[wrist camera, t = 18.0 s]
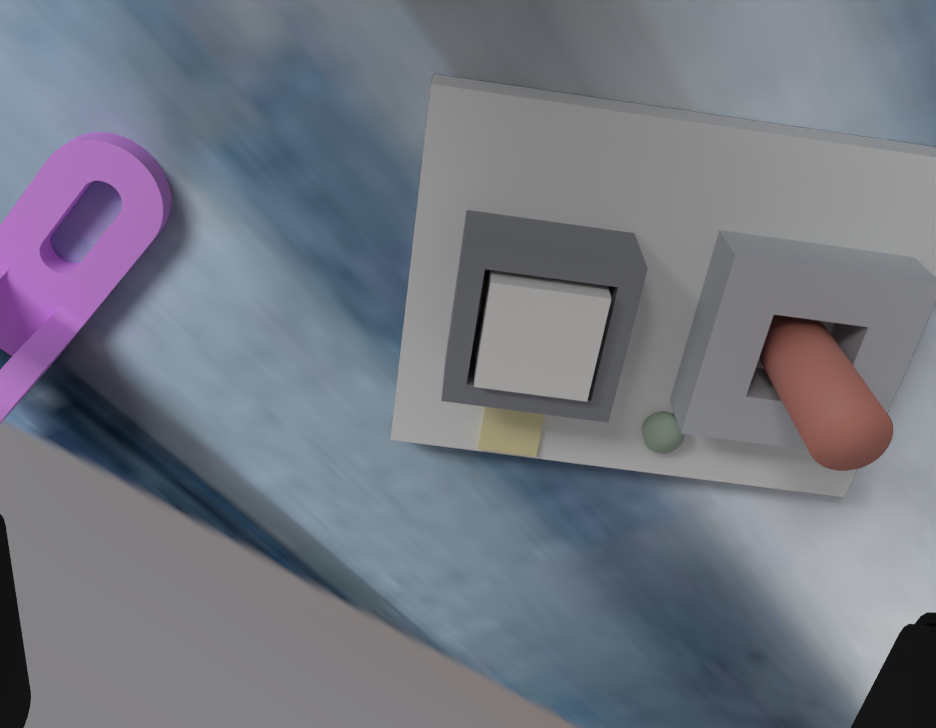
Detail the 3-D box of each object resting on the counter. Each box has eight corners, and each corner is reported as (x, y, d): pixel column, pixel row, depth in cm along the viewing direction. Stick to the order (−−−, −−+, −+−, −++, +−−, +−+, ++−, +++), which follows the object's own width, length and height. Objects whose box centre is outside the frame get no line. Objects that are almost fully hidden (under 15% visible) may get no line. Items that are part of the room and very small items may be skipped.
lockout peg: (761, 296, 42) (823, 396, 34) (828, 305, 42) (906, 407, 34) (741, 355, 43) (796, 465, 35) (806, 365, 43) (875, 475, 35)
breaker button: (491, 245, 40) (491, 282, 36) (601, 261, 40) (611, 299, 37) (475, 343, 42) (473, 387, 39) (579, 357, 43) (587, 401, 39)
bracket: (53, 363, 47) (-13, 437, 41) (-45, 295, 45) (-128, 363, 39) (195, 188, 42) (145, 244, 36) (93, 105, 40) (22, 149, 34)
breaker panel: (433, 74, 39) (424, 106, 34) (966, 151, 40) (1038, 195, 35) (394, 418, 48) (382, 487, 42) (832, 474, 49) (873, 548, 44)
